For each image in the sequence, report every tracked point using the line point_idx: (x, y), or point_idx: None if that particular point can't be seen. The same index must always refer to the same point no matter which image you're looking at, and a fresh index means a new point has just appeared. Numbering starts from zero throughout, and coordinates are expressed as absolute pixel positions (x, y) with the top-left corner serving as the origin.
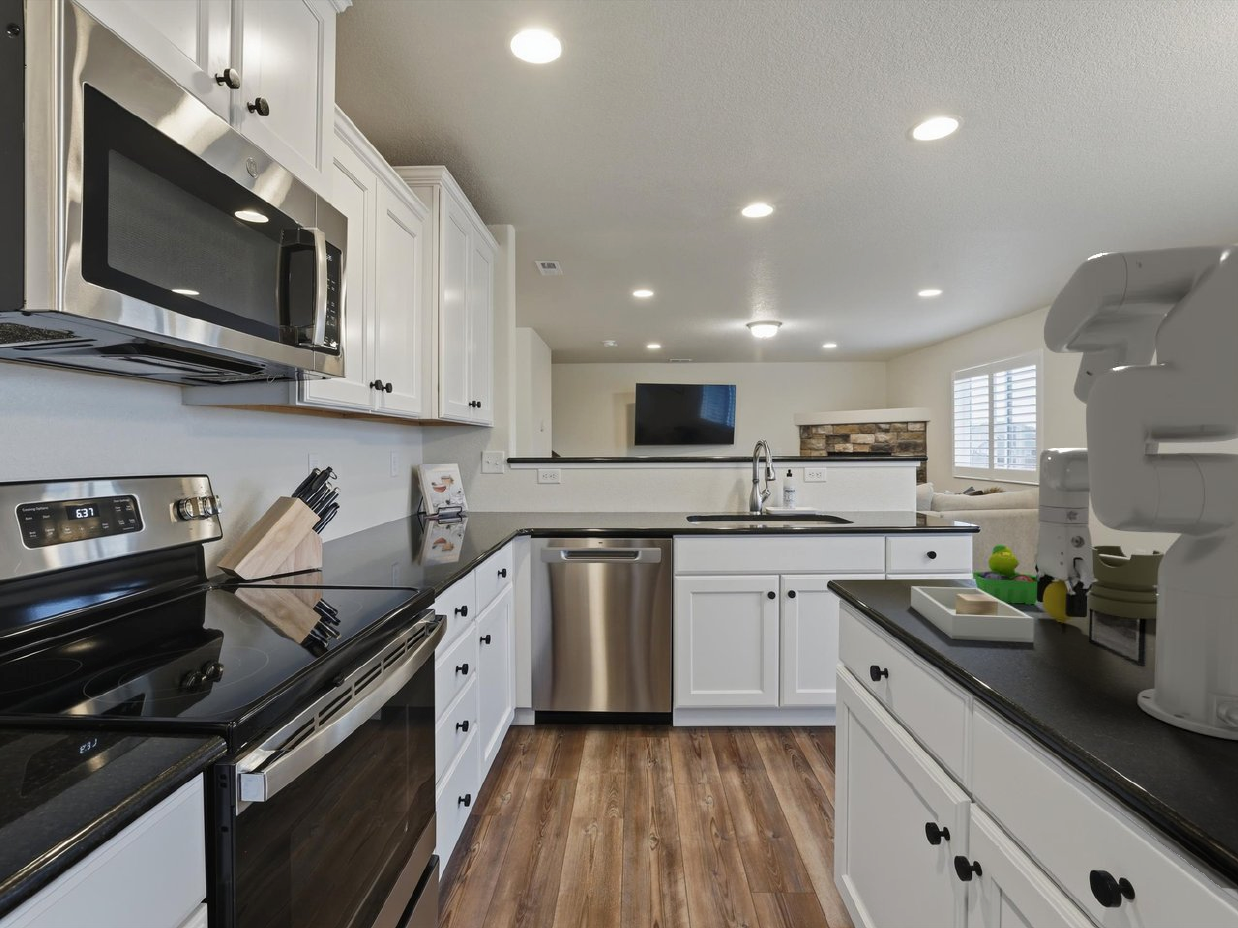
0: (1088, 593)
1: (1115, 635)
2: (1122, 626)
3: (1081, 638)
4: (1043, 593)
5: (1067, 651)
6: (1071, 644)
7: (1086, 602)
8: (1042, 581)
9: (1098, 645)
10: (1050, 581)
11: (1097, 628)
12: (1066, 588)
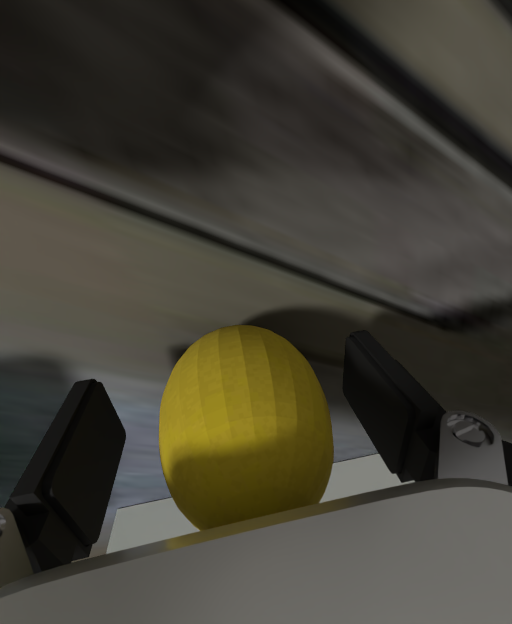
0: (482, 423)
1: (384, 211)
2: (215, 77)
3: (416, 339)
4: (109, 461)
5: (508, 397)
6: (464, 377)
7: (403, 374)
8: (75, 544)
9: (483, 318)
10: (55, 520)
11: (286, 239)
12: (325, 484)
